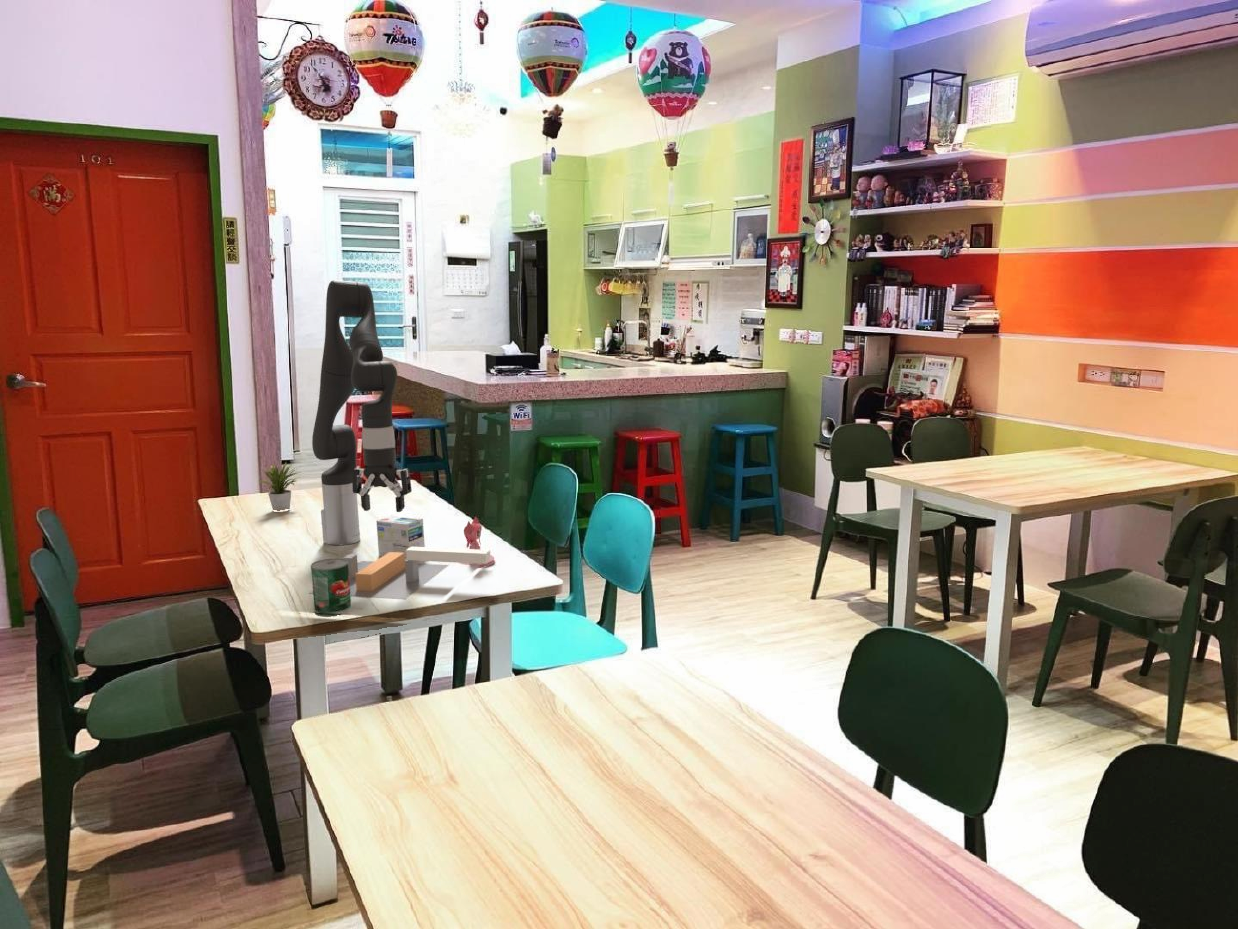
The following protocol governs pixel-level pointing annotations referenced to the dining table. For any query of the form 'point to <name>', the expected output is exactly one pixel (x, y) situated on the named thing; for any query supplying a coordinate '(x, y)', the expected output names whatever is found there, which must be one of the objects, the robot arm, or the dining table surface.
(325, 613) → the canned tomato
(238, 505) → the dining table surface
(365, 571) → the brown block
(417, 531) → the light bulb box
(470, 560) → the cream bar
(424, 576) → the cable board
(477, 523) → the toy figure
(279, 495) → the house plant
